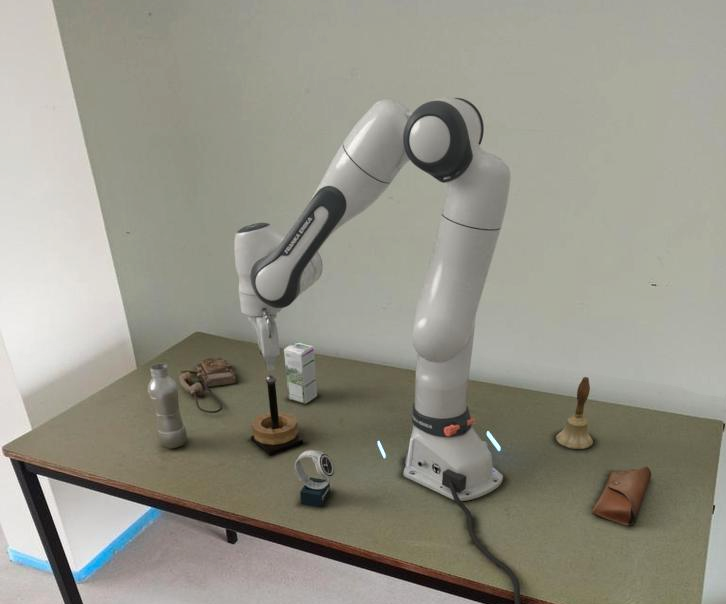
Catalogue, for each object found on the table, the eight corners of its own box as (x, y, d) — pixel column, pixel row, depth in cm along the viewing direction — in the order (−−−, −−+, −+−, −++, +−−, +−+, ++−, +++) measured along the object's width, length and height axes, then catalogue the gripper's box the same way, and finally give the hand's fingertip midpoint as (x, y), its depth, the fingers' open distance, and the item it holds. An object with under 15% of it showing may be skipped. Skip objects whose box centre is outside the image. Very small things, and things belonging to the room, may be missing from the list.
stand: (303, 444, 158) (298, 376, 148) (269, 456, 153) (262, 387, 144) (283, 429, 164) (277, 363, 155) (251, 440, 160) (243, 373, 150)
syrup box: (317, 396, 179) (314, 345, 171) (304, 405, 175) (301, 353, 167) (300, 391, 181) (297, 340, 173) (287, 399, 177) (282, 348, 169)
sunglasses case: (608, 469, 146) (630, 450, 141) (634, 490, 145) (657, 471, 141) (590, 513, 132) (613, 494, 128) (618, 536, 132) (642, 518, 127)
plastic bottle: (181, 452, 155) (166, 373, 144) (154, 450, 156) (137, 371, 146) (192, 438, 161) (179, 361, 150) (166, 436, 162) (151, 359, 151)
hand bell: (558, 429, 162) (568, 368, 153) (594, 435, 159) (606, 373, 151) (553, 446, 155) (563, 383, 147) (590, 452, 153) (603, 389, 144)
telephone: (194, 420, 168) (193, 405, 166) (173, 370, 194) (171, 356, 191) (253, 411, 173) (252, 396, 171) (224, 364, 199) (223, 350, 197)
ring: (306, 434, 159) (305, 423, 157) (267, 449, 154) (266, 438, 152) (282, 418, 166) (281, 407, 165) (244, 431, 161) (243, 420, 159)
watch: (329, 509, 136) (327, 463, 130) (293, 502, 138) (289, 457, 132) (338, 494, 140) (337, 449, 134) (303, 487, 142) (299, 443, 136)
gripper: (284, 316, 137) (289, 378, 144) (267, 286, 153) (273, 343, 161) (253, 320, 135) (260, 382, 143) (240, 289, 152) (247, 346, 159)
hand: (267, 361), depth 152 cm, fingers open, 8 cm apart
